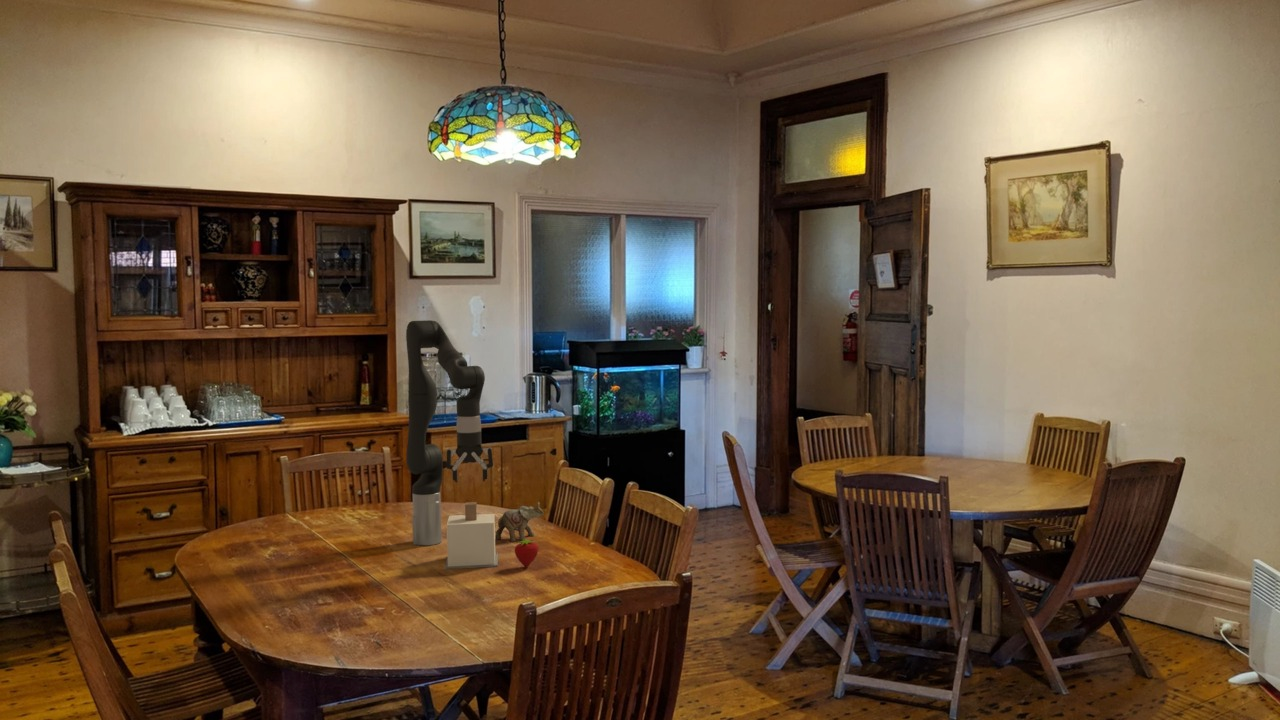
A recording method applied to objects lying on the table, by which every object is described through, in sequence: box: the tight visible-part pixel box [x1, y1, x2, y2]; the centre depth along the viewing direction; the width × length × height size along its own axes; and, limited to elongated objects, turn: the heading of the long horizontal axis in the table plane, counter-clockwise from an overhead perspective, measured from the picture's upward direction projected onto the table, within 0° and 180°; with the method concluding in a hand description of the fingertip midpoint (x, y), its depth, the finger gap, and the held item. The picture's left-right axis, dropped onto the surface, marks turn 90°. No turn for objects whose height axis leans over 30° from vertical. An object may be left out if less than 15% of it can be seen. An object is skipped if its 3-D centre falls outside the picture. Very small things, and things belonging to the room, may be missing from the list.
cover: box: [446, 501, 496, 566], centre depth 297 cm, size 14×12×18 cm
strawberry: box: [514, 537, 540, 568], centre depth 291 cm, size 6×8×10 cm
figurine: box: [495, 501, 544, 543], centre depth 325 cm, size 10×14×15 cm, turn 88°
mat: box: [444, 552, 499, 570], centre depth 298 cm, size 16×14×1 cm
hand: (470, 481), depth 296 cm, fingers open, 8 cm apart
